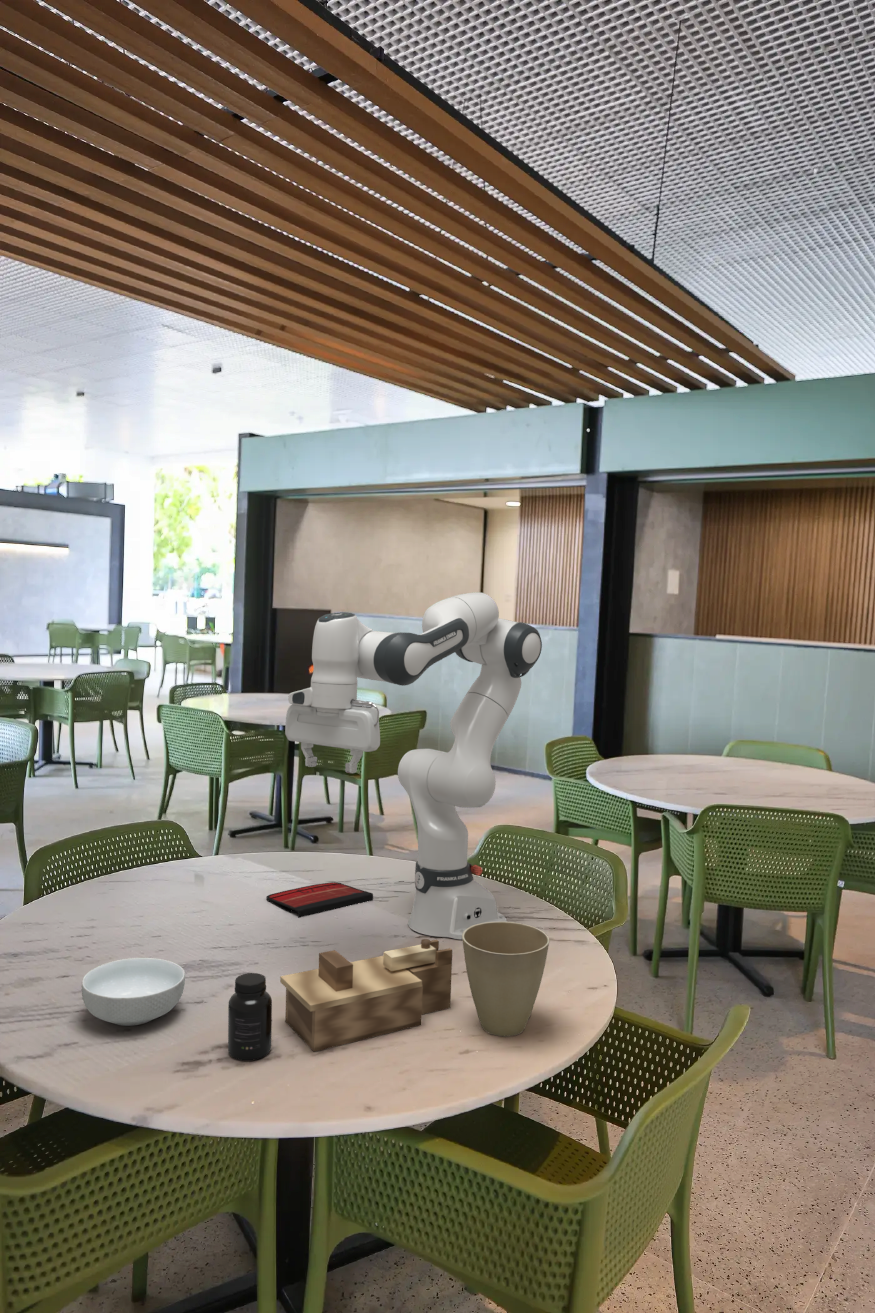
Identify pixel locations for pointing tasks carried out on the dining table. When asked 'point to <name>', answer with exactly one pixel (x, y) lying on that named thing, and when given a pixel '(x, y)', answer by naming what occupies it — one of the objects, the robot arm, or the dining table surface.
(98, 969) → the cereal bowl
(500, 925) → the plant pot
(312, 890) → the binder
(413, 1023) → the open wooden box
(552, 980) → the dining table surface
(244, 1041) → the supplement bottle
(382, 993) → the lid
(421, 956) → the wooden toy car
